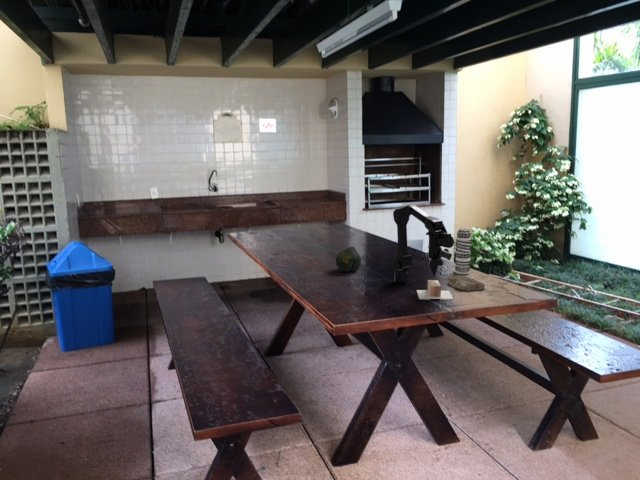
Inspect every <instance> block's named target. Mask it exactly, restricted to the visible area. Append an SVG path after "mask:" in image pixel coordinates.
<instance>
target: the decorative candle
mask: <svg viewBox="0 0 640 480" xmlns="http://www.w3.org/2000/svg"><path fill="white" fill-rule="evenodd" d="M471 236H472V231H470V229H469V228H459V229H458V230H457V231H456V239H455V241H454V245H455V253H456V255H455V256H456V257H455V260H454V261H455V263H454V264H455V266H454V272H455V273H456V274H458V275H459V274H460V275H468V274H470V273H471V253H472V252H471V250H472V248H471V247H473V246H472V245H471V244H473V242H472V241H473V239H472V237H471Z"/></svg>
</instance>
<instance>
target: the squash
mask: <svg viewBox="0 0 640 480" xmlns="http://www.w3.org/2000/svg"><path fill="white" fill-rule="evenodd" d="M335 265H336V267H337V268H338V270H339V271H340V272H343V273H344V272H346V273H347V272H349V271H351V272H353V271H358V270H359V269H360V268H361V265H362V258H361V255H360V254H359V252H358V251H357V250H356V248H355V247H354V246H349V247H347V248H345V249H343V250H342V251H340V252H339V253H338V254H337V255H336V257H335Z"/></svg>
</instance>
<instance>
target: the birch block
mask: <svg viewBox="0 0 640 480" xmlns="http://www.w3.org/2000/svg"><path fill="white" fill-rule="evenodd" d="M427 290H428V292H429V295H430V296H434V297H441V290H442V285H441V283H440V282H439V280H437V279H436V280H435V279H428V280H427Z"/></svg>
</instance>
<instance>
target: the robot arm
mask: <svg viewBox="0 0 640 480" xmlns="http://www.w3.org/2000/svg"><path fill="white" fill-rule="evenodd" d="M392 216H393V221H394V223H395V225H396V228H397V229H396V230H397V231H396V232H397V249H398V250H397V253H396V256H395V259H394V261H395V262H394V263H393V264H392V265H391V268H390V269H391V271H392V272H394V279H393V280H394V284H407V283H408V280H409V279H408V278H409V277H408V276H409V275H408V274H409V273H408V271H410V269H411V266H412V263H413V256H412V255H411V254H409V252H408V250H409V249H408V231H407V230H408V228H407V226H408V223H409V221H410V216H412V217H414V218H416V219H417V220H419V222H421V223H422V224H424V227H425V228H426V229H427V232H426V233H425V235H426V236H428V246H427V249H428V252H426V253H425V258H426V259H427V263H428V268H429V269H430V272H431V274H432V276H433V277H435V276H436V273H437V270H438V267H439V266H441V267H442V266H444V260H443V259H442V258H444V259H446V260H448V261H451V259H452V256H453V253H452V252H451V251H449V249H451V248H452V247H453V246H454V245H455V239H454V237H453V236H452V233H448V231H447V229H446V227H445V224H444V222H443V220H442V219H440V218H438V217H435V216H431V215H429V214H428V213H426V212H425V211H424V210H422V209H420V208H419V207H418V206H417V205H416V204H408V205H406V206H403V207H400V208H395V209H394V210H393V212H392ZM442 248H444V249H442Z"/></svg>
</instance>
